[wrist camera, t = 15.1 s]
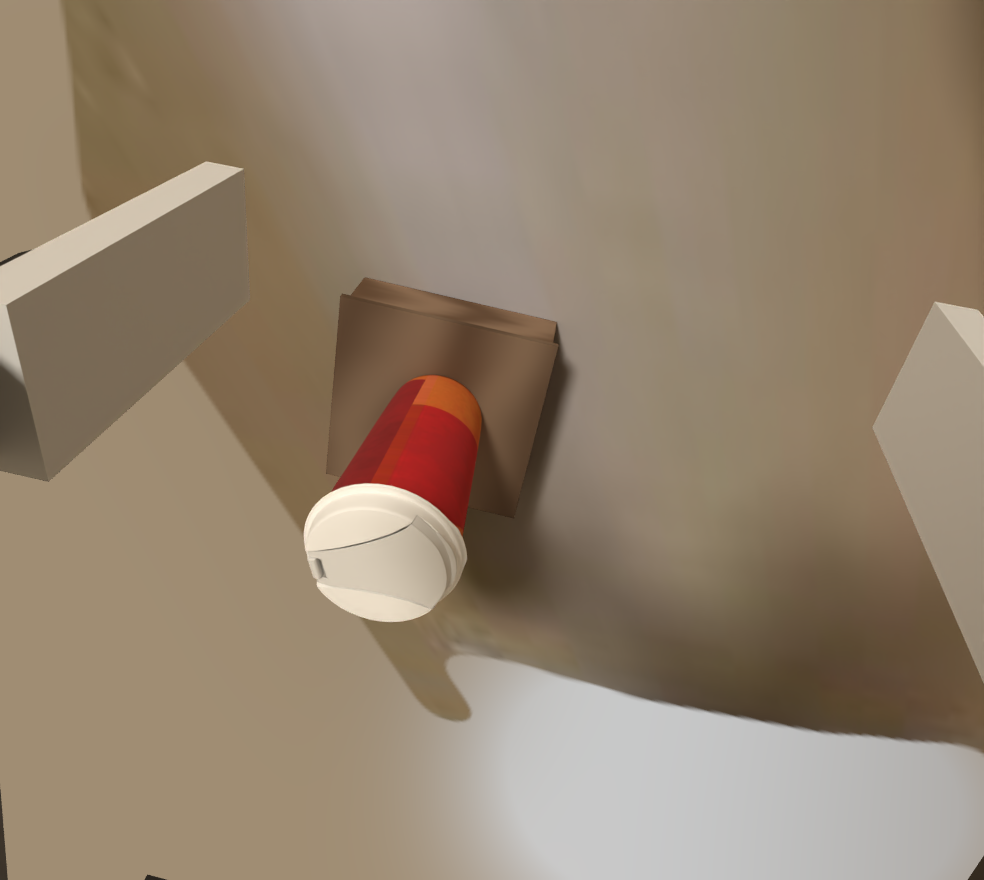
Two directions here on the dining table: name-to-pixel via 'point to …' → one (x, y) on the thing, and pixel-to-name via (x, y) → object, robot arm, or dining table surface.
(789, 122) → the dining table surface
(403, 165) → the dining table surface
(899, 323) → the dining table surface
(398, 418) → the paper cup
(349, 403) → the podium
